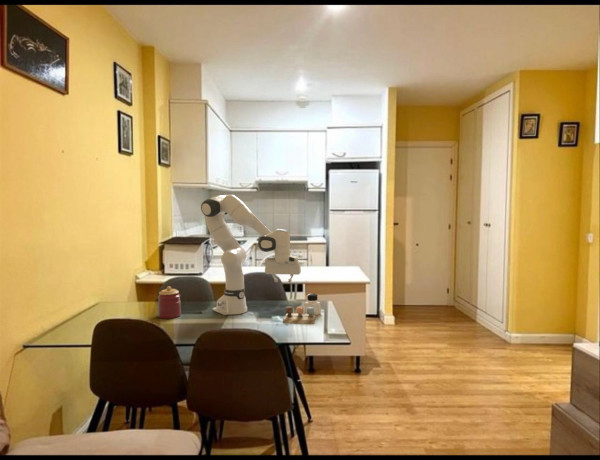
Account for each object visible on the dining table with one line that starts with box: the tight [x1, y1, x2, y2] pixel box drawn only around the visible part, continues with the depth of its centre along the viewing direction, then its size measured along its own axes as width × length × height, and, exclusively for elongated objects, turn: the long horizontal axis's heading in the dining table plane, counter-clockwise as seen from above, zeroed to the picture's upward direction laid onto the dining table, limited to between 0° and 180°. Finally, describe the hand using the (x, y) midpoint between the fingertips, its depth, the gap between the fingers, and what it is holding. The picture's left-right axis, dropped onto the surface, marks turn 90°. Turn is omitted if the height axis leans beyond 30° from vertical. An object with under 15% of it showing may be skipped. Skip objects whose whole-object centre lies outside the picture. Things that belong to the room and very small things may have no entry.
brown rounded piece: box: [285, 305, 294, 317], centre depth 224 cm, size 4×4×5 cm
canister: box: [157, 285, 182, 320], centre depth 234 cm, size 13×13×18 cm
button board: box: [282, 312, 317, 324], centre depth 224 cm, size 17×12×2 cm
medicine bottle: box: [303, 293, 322, 316], centre depth 235 cm, size 7×7×12 cm
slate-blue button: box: [307, 307, 314, 317], centre depth 222 cm, size 4×4×5 cm
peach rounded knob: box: [295, 306, 304, 317], centre depth 223 cm, size 4×4×5 cm
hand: (282, 282), depth 224 cm, fingers open, 7 cm apart
